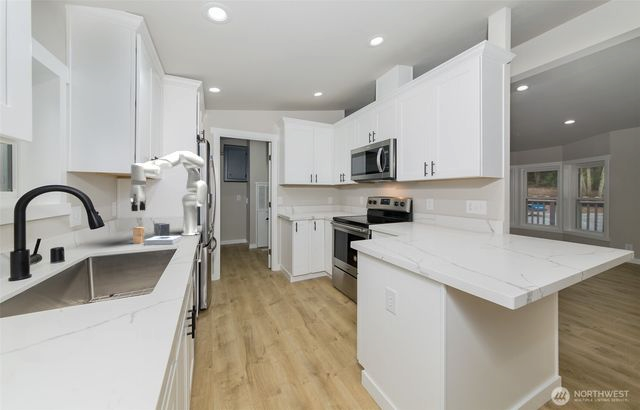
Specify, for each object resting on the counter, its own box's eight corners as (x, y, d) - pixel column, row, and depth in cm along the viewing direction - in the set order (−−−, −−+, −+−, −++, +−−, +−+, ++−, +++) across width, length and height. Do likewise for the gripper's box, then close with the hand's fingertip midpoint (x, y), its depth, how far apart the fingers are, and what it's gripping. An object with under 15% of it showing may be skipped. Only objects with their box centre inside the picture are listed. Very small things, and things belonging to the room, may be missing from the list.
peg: (136, 242, 162) (136, 227, 161) (144, 242, 162) (144, 227, 162) (133, 243, 157) (132, 227, 157) (140, 243, 158) (140, 227, 158)
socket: (155, 240, 170) (155, 236, 170) (181, 240, 173) (181, 235, 173) (144, 245, 154) (143, 240, 154) (172, 244, 157) (172, 239, 157)
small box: (170, 238, 179) (170, 223, 179) (160, 239, 174) (160, 224, 174) (163, 236, 185) (163, 222, 185) (153, 238, 180) (153, 223, 180)
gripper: (138, 184, 167) (138, 210, 167) (124, 182, 150) (124, 211, 150) (151, 184, 168) (151, 210, 168) (138, 182, 151) (138, 211, 151)
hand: (138, 210), depth 159 cm, fingers open, 9 cm apart
